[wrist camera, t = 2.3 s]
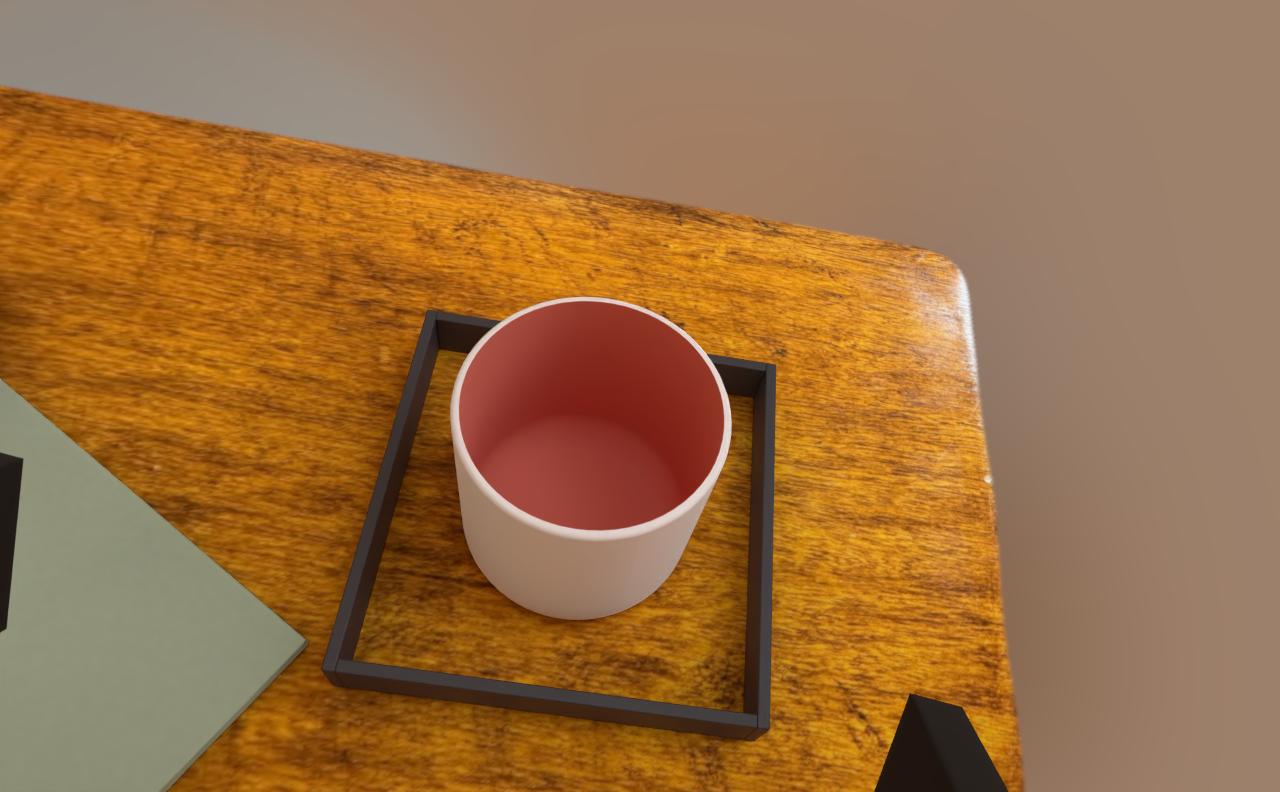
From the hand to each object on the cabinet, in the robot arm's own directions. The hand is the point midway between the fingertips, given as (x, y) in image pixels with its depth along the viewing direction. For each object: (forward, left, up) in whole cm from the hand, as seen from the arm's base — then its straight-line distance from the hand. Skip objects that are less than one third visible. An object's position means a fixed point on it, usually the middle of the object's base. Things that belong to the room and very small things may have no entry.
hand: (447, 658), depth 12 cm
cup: (+5, -12, -23) cm, 27 cm away
